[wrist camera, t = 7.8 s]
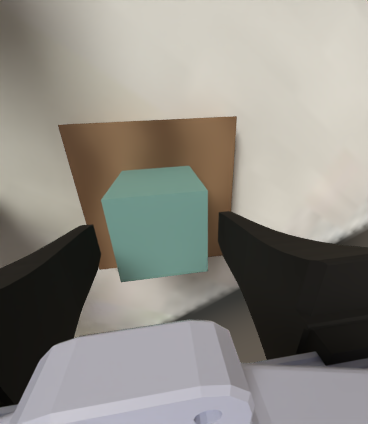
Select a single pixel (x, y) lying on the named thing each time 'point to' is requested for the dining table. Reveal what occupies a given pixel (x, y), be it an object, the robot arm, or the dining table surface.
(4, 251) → the dining table surface
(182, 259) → the teal block
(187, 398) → the robot arm
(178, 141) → the walnut base
